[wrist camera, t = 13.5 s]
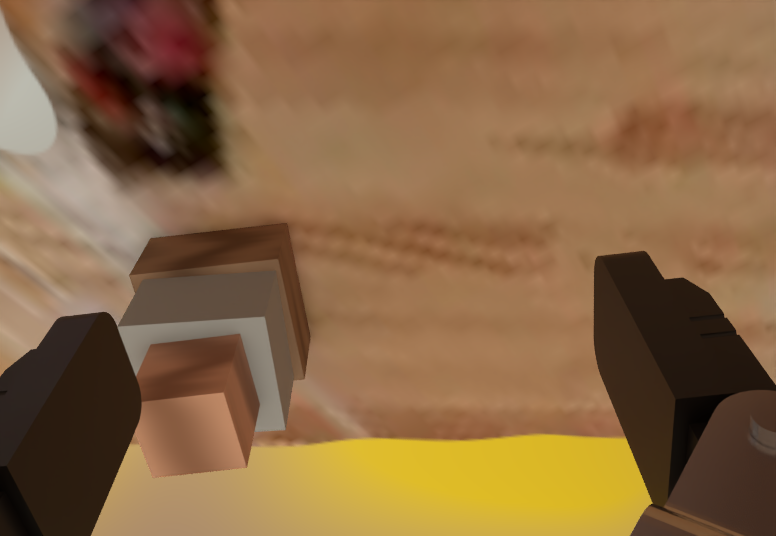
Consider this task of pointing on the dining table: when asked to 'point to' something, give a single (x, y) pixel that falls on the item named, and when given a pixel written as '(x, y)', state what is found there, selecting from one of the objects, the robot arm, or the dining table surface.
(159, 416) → the terracotta cube
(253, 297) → the tower top
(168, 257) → the tower bottom
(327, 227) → the dining table surface
